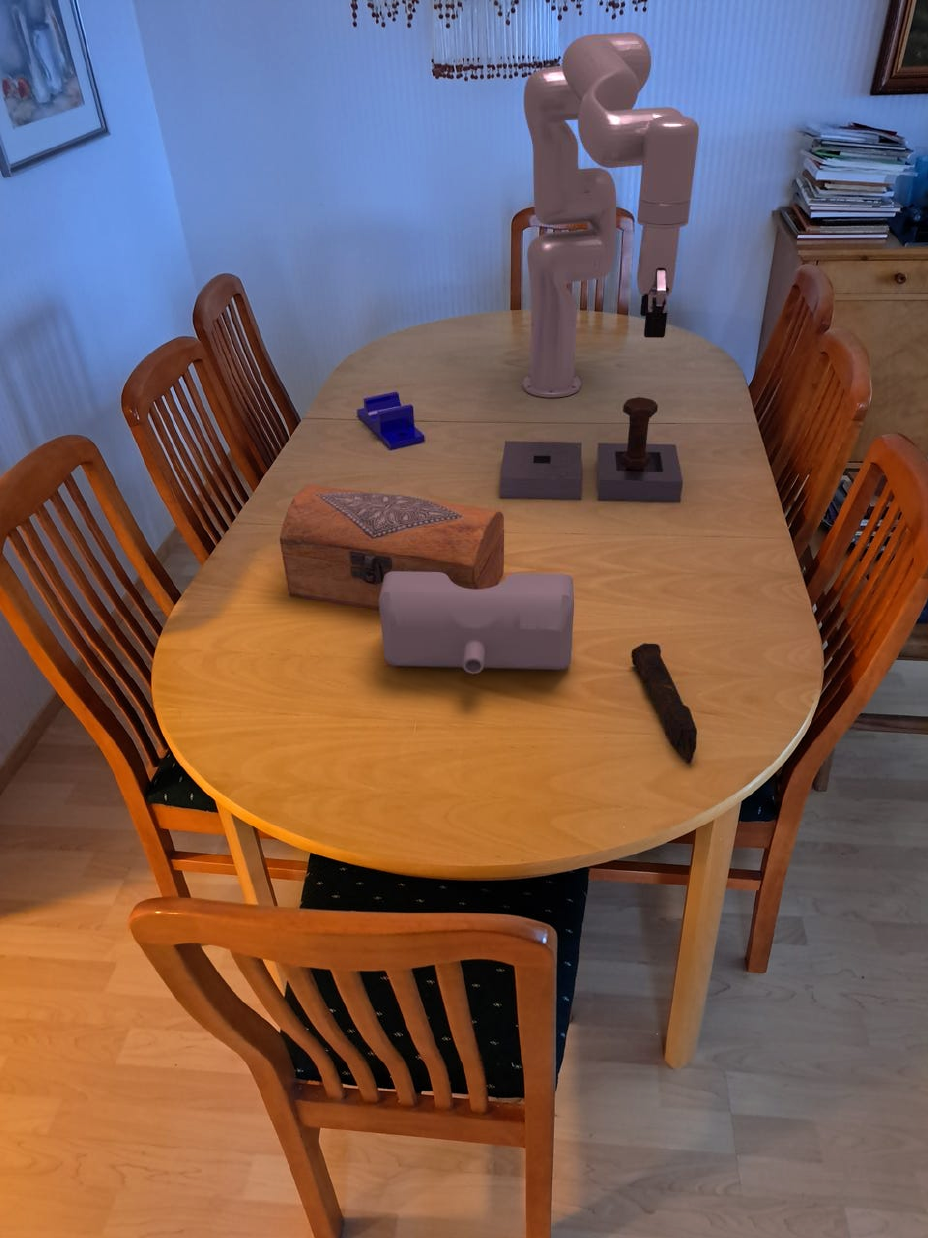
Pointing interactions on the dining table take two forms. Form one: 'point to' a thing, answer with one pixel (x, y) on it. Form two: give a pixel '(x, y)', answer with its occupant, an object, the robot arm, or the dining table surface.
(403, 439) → the mounting bracket
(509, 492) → the narrow-bore block
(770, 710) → the dining table surface
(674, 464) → the wide-bore block
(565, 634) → the tank
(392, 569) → the wooden box
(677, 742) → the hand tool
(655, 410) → the bolt
